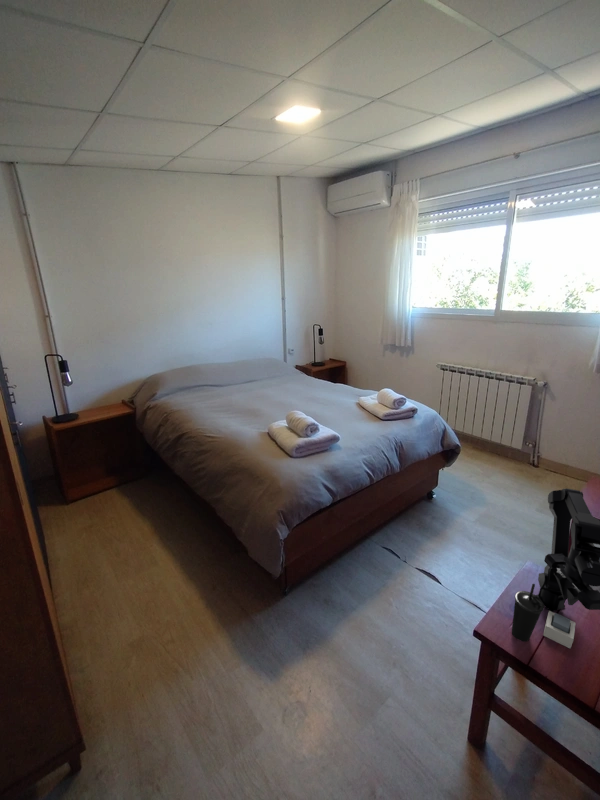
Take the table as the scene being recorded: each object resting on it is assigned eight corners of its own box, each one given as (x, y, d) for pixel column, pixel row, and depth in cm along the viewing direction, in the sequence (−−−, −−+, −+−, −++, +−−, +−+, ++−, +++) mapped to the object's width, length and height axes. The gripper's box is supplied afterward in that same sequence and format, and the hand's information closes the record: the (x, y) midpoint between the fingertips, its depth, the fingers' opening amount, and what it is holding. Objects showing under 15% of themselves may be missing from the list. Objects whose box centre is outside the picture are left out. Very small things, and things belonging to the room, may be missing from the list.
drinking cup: (531, 651, 111) (545, 599, 104) (503, 635, 116) (515, 584, 109) (537, 634, 116) (551, 584, 110) (510, 619, 121) (522, 570, 115)
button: (551, 628, 115) (553, 621, 114) (552, 619, 118) (555, 612, 117) (566, 636, 113) (569, 628, 112) (568, 626, 116) (570, 619, 115)
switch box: (543, 635, 116) (546, 625, 115) (546, 619, 121) (548, 610, 120) (570, 648, 112) (573, 639, 110) (572, 632, 117) (575, 622, 116)
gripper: (636, 585, 99) (619, 629, 104) (583, 537, 116) (571, 577, 121) (595, 585, 98) (580, 630, 103) (548, 538, 116) (538, 578, 121)
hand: (567, 601), depth 112 cm, fingers closed
